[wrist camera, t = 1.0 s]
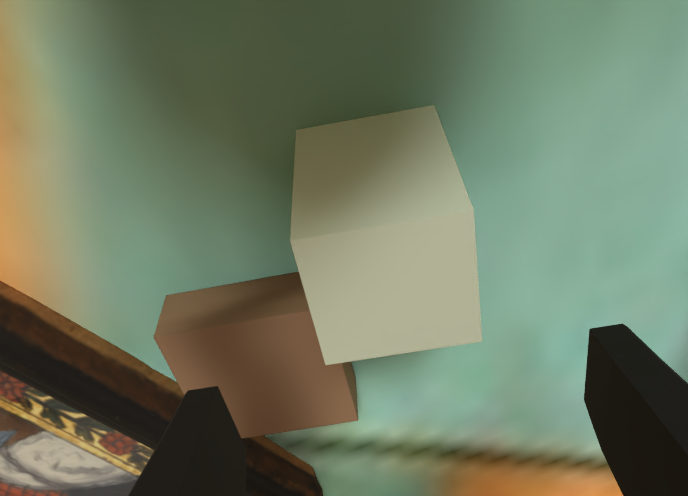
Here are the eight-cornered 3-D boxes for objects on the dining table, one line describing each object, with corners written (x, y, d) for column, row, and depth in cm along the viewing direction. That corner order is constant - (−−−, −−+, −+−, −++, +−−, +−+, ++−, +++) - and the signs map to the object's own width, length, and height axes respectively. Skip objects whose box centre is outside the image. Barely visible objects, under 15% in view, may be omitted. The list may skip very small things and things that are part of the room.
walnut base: (324, 260, 21) (325, 307, 19) (355, 370, 25) (358, 420, 23) (168, 288, 22) (153, 337, 20) (218, 393, 25) (209, 443, 23)
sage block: (433, 104, 18) (473, 210, 13) (445, 219, 20) (481, 341, 16) (296, 129, 18) (289, 240, 14) (323, 239, 20) (325, 365, 16)
